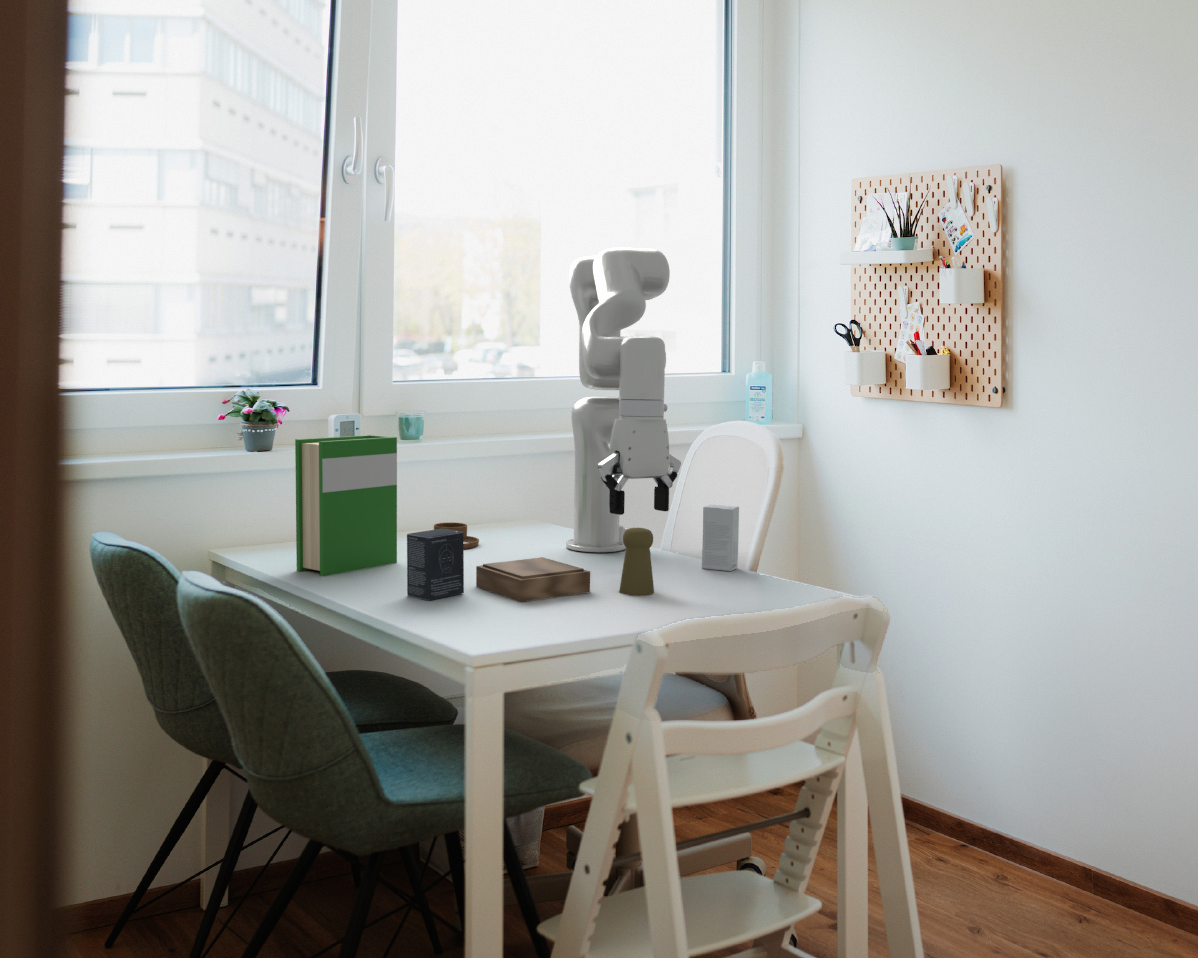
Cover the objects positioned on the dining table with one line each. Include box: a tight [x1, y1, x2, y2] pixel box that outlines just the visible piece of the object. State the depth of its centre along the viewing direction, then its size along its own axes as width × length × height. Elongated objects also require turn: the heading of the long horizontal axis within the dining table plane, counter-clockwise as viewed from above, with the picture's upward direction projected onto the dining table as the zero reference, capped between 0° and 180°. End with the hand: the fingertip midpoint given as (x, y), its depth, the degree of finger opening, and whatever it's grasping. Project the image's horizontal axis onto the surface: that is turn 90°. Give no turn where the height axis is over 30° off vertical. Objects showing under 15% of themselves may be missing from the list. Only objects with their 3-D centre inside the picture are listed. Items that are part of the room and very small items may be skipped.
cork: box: [619, 527, 655, 597], centre depth 184 cm, size 6×6×11 cm
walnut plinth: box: [475, 557, 591, 603], centre depth 185 cm, size 14×14×4 cm
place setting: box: [433, 522, 480, 550], centre depth 227 cm, size 18×20×6 cm
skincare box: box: [701, 504, 740, 572], centre depth 207 cm, size 6×4×12 cm
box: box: [406, 528, 465, 601], centre depth 179 cm, size 8×6×11 cm
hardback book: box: [294, 434, 398, 577], centre depth 201 cm, size 18×7×24 cm, turn 144°
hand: (639, 512), depth 183 cm, fingers open, 9 cm apart
